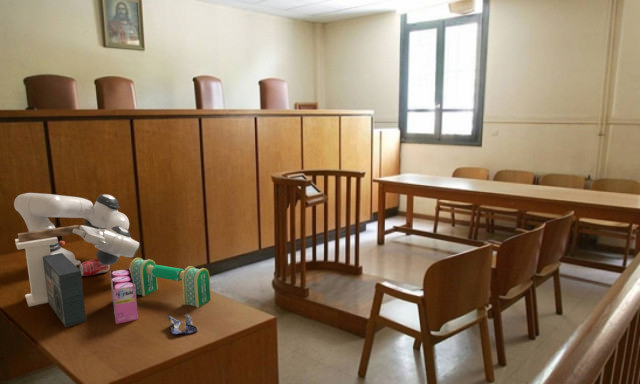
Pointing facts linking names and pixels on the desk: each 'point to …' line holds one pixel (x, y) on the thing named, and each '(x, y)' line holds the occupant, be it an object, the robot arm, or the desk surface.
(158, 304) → the desk surface
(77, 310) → the cassette player
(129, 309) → the gum box
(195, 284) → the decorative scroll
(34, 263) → the stand
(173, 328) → the snack package
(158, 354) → the desk surface
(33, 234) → the brown block
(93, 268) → the soda can
